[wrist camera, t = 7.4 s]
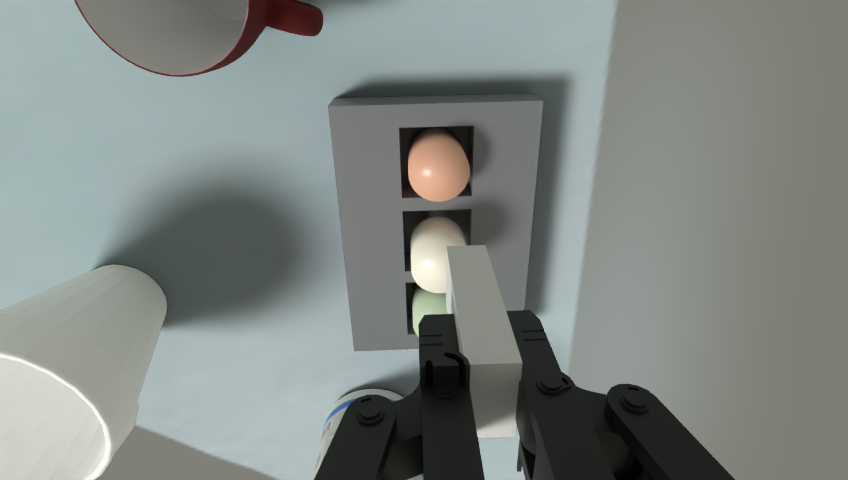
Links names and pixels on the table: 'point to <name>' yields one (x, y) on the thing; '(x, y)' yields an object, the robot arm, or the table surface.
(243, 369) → the table surface
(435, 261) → the button cream
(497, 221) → the button panel
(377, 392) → the supplement tub
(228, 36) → the mug
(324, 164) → the table surface
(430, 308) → the button sage
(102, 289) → the cup
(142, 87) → the table surface
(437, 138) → the button terracotta
